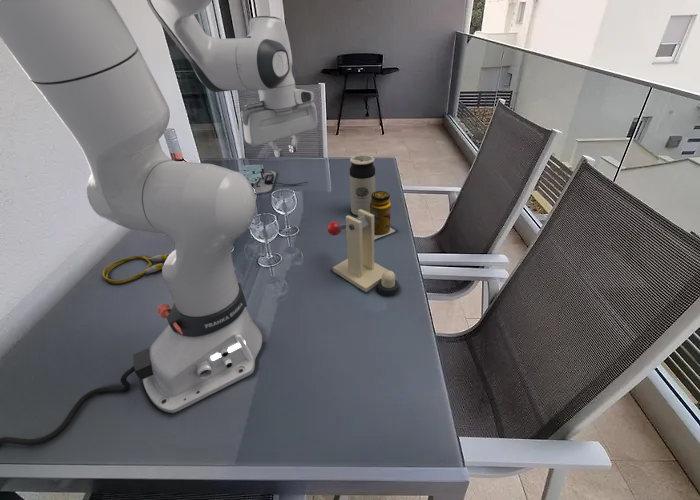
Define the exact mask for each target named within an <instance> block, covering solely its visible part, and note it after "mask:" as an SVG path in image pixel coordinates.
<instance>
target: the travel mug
mask: <svg viewBox="0 0 700 500" xmlns="http://www.w3.org/2000/svg"><path fill="white" fill-rule="evenodd" d="M374 161H375V157H374V156H372V155H370V154H357V155H353V156H352V157H350V159H349V162H350V168H349V189H350V191H349V192H350V193H349V194H350V212H351V213H352V214H353V215H354V216H358V210H360V209H362V210H364V211H366V212H369V213H370V202H371V198H372V197H371V195H372V193H373V192H376V167H375V166H374Z"/></svg>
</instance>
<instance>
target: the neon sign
mask: <svg viewBox="0 0 700 500" xmlns="http://www.w3.org/2000/svg"><path fill="white" fill-rule="evenodd" d="M239 170H240V171H238V172H239V173H241V174H243V175H244V176H245V177H246V178H247V179H248V181H249V182H250V184H251V185H252V187H253V188H254V189H255V192H256V194H255V195H261V194H262V195H263V194H267V193H269V192H271V191H273V186H274V184H278V185H285V186H295V185H303V184H307V183H309V181H305V182H299V183H283V182H275V180H276V177H277V172H276V171H274V170H265V168H264V165H263V164H249V165H248V164H247V165H241V166H240V167H239Z"/></svg>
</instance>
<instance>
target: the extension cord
mask: <svg viewBox="0 0 700 500" xmlns="http://www.w3.org/2000/svg"><path fill="white" fill-rule="evenodd" d="M169 255H170V254H158V255H154V256H152V257H146V256H145V255H133V256H128V257H125V258H121V259H119V260H116V261H114V262H112V263H110V264H108V265H107V266H106V267H105V268H104V269H103V270H102V277H103V279H104V280H106V281H107V282H109V283H111V284H114V285H119V284H125V283H128V282H132V281H134V280H137V279H139V278H140V277H142V276H143V275H144V274H146V275H148V274H153V273H154V274H155V273H157V272H159V271H162V268H163V263H162V262H165V261H166V259H167V257H168V256H169ZM136 259H142V260H146V261H147V262H148V265H147V266H146V268H145V269H144V270H142V272H140V273H138V274H135V275H133V276H129V277H127V278H123V279H118V280H117V279H116V280H115V279H111V278H109V277H108V276H109V273H110V272H111V271H112V270H113V269H114V268H116V267H118V266H119V265H121V264H124V263H126V262H128V261H132V260H136ZM151 260H152V262H159V263H157V264H154V265H153V264H152V262H151Z"/></svg>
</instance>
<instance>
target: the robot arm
mask: <svg viewBox="0 0 700 500" xmlns="http://www.w3.org/2000/svg"><path fill="white" fill-rule="evenodd" d="M212 1H213V0H146V2H147V4H148V7H149V8H150V10H151V12H152V13H153V15H154V16H155V18H156V19H157V21H158V22H159V23H160V25H161V26H162V28H163V29H164V30H165V32H166V33H167V34H168V36H169V37H170V38H171V39H172V41H173V42H174V43H175V45H176V46H177V47H178V49H179V50H180V51H181V52H182V54H183V55H184V56H185V58H186V59H187V61H188V62H189V63H190V66H191V67H192V69H193V72H194V73H195V75H196V77H197V78H198V80H199V82H200V83H201V84H202V85H203V86H204V87H205V88H207V90H209V91H211V92H213V93H222V92H231V91H257V92H258V98H259V101H256V102H252V103H247V104H245V105H244V106H243V107H242V109H241V111H240V117H241V121H242V129H243V137H244V141H245V143H246V144H248V145H250V146H252V147H258V146H263V145H265V144H268V146H269V147H270V148H271V149H272V150H273V153H274V157H276V158H281V157H283V156H284V152H283V151H284V150H283V149H282V148H279V146H277V145H278V143H279V142H278V140H283V139H287V138H290V137H291V143H290V144H288V151H289V153H292V154H293V153H297V152H298V144H299V142H300V138H301V137H300V134H303V133H306V132H310V131H313V130H314V131H315V130H316V129H317V127H318V124H319V121H318V111H317V106H316V104H315V102H313V101H314V100H315V94H314V92H313V91H311V90H306V89H302V88H300V87H296V81H295V77H294V75H293V74H294V73H293V53H292V48H291V47H292V46H291V43H290V42H291V41H290V38H289V33H288V29H287V26H286V24H285V21H284V20H283V19H282V18H280V17H278V16H270V15H258V16H254V17H251V18H250V19H249V23H248V30H249V33H248V34H247V35H246V37H236V38H235V37H233V38H219V37H214V36H211V35H208V34H207V33H206V32H205V31H204V29H203V27H202V26H201V24H200V23H199V21H198V19H197V18H196V16H195V15H198V14H199V13H201V12H203V11H204V10H205V9H206V8H207V7H209V5H210V4H211V3H212ZM0 40H1V41H2V43H3V44H4V45H5V48H6V49H7V50H8V52H9V53H10V54H11V56H12V57H13V59H14V60H15V61H16V63H17V64H18V66H19V67H20V68H21V70H22V71H23V73H24V74H25V75H26V76H27V78H28V79H29V80H30V81H31V83H32V84H33V86H35V88H36V89H37V90H38V92H39V93H40V95H41V96H42V97H43V98H44V100H45V101H46V102H47V104H48V105H49V106H50V107H51V109H52V110H53V111H54V113H55V114H56V116H57V117H58V118H59V119H60V121H61V122H62V123H63V125H64V126H65V127H66V129H67V130H68V132H69V133H70V134H71V136H72V137H73V138H74V140H75V142H76V143H77V144H78V147H79V148H80V149H81V151H82V154H83V155H84V158H85V160H86V162H87V164H88V168H89V171H90V175H89V177H88V180H87V184H86V196H87V200H88V203H89V205H90V207H91V209H92V210H93V211H94V212H95V214H96V215H98V216H99V217H100V218H102V219H104V220H106V221H109V222H111V223H113V224H115V225H118V226H121V227H123V228H125V229H129V230H134V231H140V232H146V233H147V232H148V233H155V234H161V235H165V236H167V237H168V238H169V239H171V241H172V243H173V245H174V248H175V249H174V250H172V252H170V253H169V254H168V255H169V256H168V257H167V259H166V260H164V263H163V264H162V266H163V268H162V270H161V276H162V279H163V281H164V284H165V286H166V288H167V290H168V293H169V294H170V295H169V296H170V297H171V299H172V301H173V305H172V307H171V306H170V305H169V304H167V303H162V304H160V305H158V307H157V309H156V311H157V313H158V314H159V315H160V317H161V318H162V319H166V320H167V323H168V324H167V325H166V327H165V328H164V330H163V331H162V332H161V333H160V334H159V335H158V337H157V338H156V339H155V340H154V341H153V343H152V344H151V346H150V347H149V348H147V349H143V350H142V351H139V352H136V353H133V354H132V357H133V365H132V366H131V367H130V368H129V369H127V370H126V371H125V372H123V374H122V375H121V377H120V384H121V385H122V386H121V387H112V386H103V387H98V388H94V389H91V390H90V391H88V392H87V393H85V394H84V395H83V396H81V397H80V398H79V399H78V401H77V402H76V403H75V404H74V405H73V406H72V408H71V410H70V411H69V413H68V414H67V416H66V417H65V419H63V421H62V422H61V424H60V425H59V426H58V427H57V428H55V429H54V430H53V431H51V432H50V433H48V434H46V435H44V436H41V437H37V438H22V437H15V436H14V437H13V436H2V437H0V444H13V445H21V446H34V445H40V444H43V443H46V442H48V441H50V440H52V439H54V438H55V437H57V436H58V435H59V434H61V433H62V432H63V431H64V430H65V429H66V428H67V427H68V425H69V424H70V423H71V421H72V420H73V418H74V417H75V415H76V413H77V412H78V411H79V409H80V407H81V406H82V405H83V404H84V403H85V402H86V401H87V400H89V399H90V398H91V397H92V396H95V395H97V394H102V393H125V392H126V391H128V390H129V389H130V388H131V383H130V382H129V381H128V380H127V379H128V377H129V376H130V375H132V374H133V373H135V374H136V376H137V378H138V380H140V381H142V383H143V387H144V389H145V391H146V394H147V396H148V398H149V399H150V401H151V403H152V404H154V406H156V407H157V408H158V409H159V410H161V411H162V412H165V413H169V414H175V413H178V412H180V411H181V410H183V409H185V408H187V407H189V406H191V405H193V404H196V403H198V402H199V401H201V400H203V399H206V398H207V397H209V396H212V395H214V394H215V393H218V392H220V391H221V390H224V389H225V388H227V387H229V386H232V385H233V384H235V383H237V382H239V381H241V380H243V379H245V378H247V377H249V376H251V375H252V374H253V373H254V372H255V367H256V358H257V357H258V354H259V353H260V351H261V348H262V345H263V334H262V332H261V330H260V329H259V327H258V326H257V324H256V323H255V322H254V320H253V319H252V317H251V315H250V313H249V311H248V308H247V306H248V304H247V298H246V294H245V291H244V289H243V286H242V284H241V283H240V282H238V278H237V274H236V270H235V266H234V262H233V253H232V252H233V251H232V250H233V246H234V242H235V241H236V240H237V239H239V237H240V236H242V235H243V234H244V233H245V232H247V230H248V229H249V228H250V226H251V224H252V223H253V221H254V218H255V215H256V209H257V199H256V198H257V197H256V194H254V190H253V188H252V186H251V184H250V182H249V181H248V179H247V178H246V177H245V176H244V175H243V174H241V173H239V172H240V171H236V170H232V169H229V168H228V167H227V168H226V167H224V166H220V165H216V164H213V163H206V162H205V163H204V162H194V161H193V162H191V161H180V160H179V161H178V160H174V159H171V158H170V157H169V156H168V155H166V153H165V151H163V148H162V146H161V143H160V139H161V138H162V137H163V135H164V134H165V132H166V130H167V128H168V126H169V123H170V118H171V117H170V114H171V113H170V108H169V105H168V102H167V100H166V98H165V97H164V95H163V92H162V90H161V89H160V87H159V85H158V83H157V81H156V80H155V77H154V76H153V74H152V72H151V70H150V68H149V65H148V64H147V62H146V60H145V58H144V57H143V54H142V52H141V50H140V48H139V46H138V45H137V42H136V41H135V39H134V37H133V35H132V33H131V31H130V30H129V27H128V26H127V25H126V23H125V21H124V19H123V17H122V16H121V14H120V13H119V11H118V9H117V7H116V5H115V4H114V3H113V1H112V0H0Z"/></svg>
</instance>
